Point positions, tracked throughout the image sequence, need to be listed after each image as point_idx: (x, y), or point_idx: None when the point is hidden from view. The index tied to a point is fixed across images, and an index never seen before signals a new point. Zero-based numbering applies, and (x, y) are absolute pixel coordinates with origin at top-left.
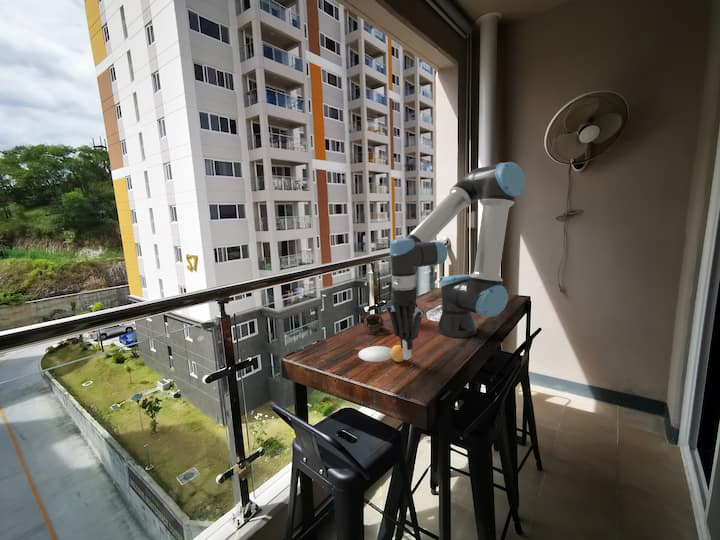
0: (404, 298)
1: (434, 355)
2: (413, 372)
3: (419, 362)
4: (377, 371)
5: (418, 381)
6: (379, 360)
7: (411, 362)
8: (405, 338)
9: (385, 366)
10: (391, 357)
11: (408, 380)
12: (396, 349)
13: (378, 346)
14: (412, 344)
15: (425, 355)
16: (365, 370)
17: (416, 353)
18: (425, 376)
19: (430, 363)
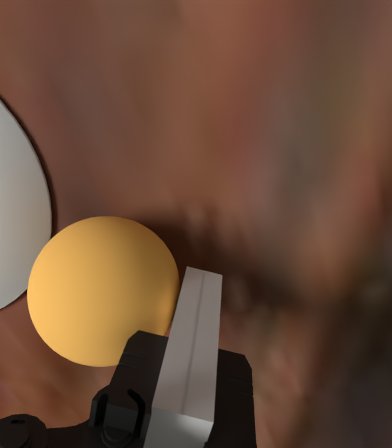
0: None
1: (387, 43)
2: (277, 365)
3: (279, 229)
4: (75, 402)
5: (331, 438)
6: (3, 294)
7: (220, 247)
8: (148, 440)
9: None
10: (49, 227)
11: (275, 441)
12: (93, 365)
13: None
14: (251, 401)
15: (298, 77)
16: (11, 407)
17: (203, 62)
18: (361, 388)
19: (369, 219)
